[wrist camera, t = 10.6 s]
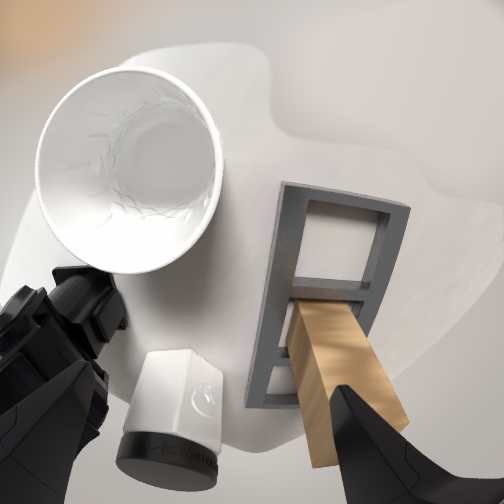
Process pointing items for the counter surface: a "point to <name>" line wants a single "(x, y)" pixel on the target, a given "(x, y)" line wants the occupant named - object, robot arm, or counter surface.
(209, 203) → the white cup
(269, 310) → the rail plate
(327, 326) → the oak block
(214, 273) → the counter surface
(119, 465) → the jar
